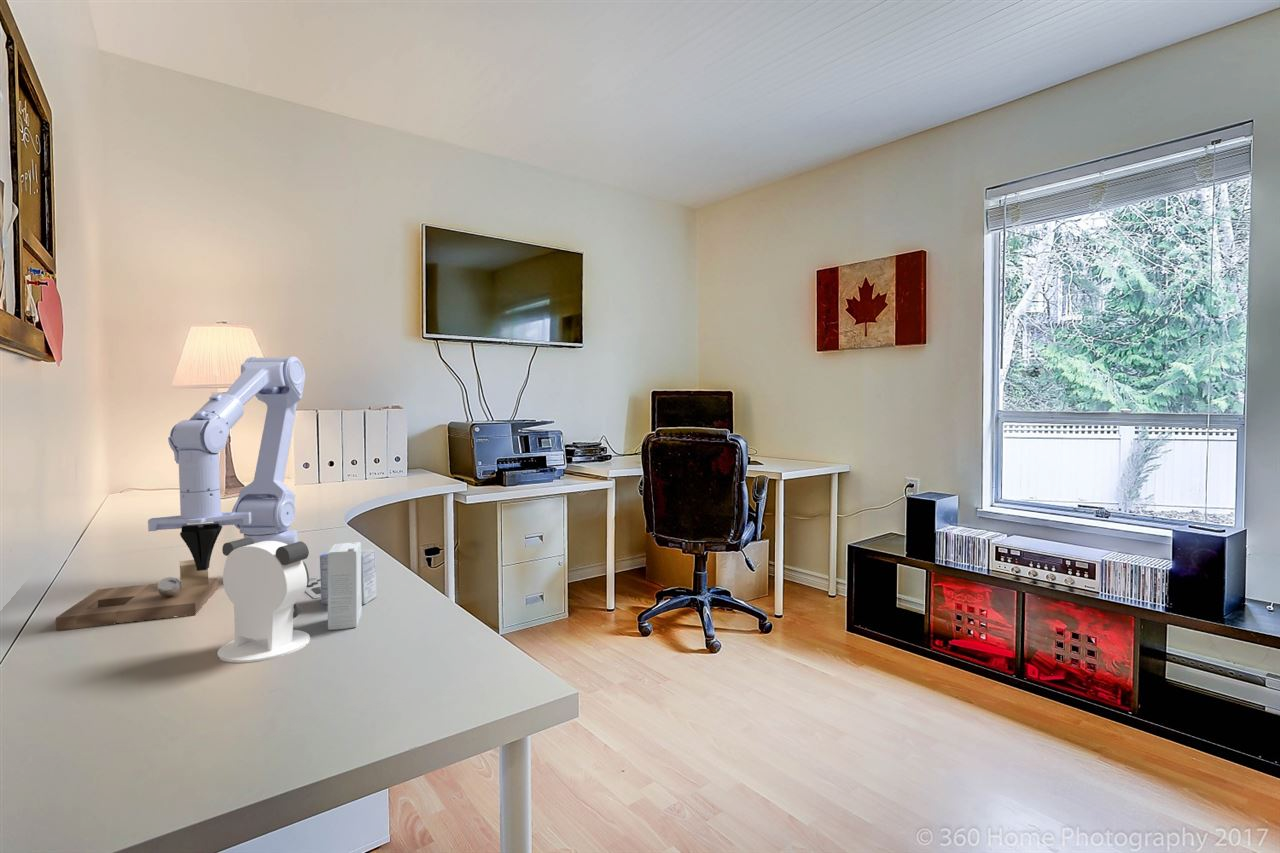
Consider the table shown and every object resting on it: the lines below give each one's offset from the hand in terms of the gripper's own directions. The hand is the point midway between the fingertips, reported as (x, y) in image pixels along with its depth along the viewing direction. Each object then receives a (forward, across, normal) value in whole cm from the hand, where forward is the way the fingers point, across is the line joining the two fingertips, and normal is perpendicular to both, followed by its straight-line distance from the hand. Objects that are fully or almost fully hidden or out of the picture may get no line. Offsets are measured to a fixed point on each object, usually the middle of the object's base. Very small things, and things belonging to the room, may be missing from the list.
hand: (203, 569), depth 111 cm
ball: (+2, -5, 0) cm, 6 cm away
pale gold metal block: (+4, -3, +7) cm, 9 cm away
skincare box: (+6, +23, -20) cm, 31 cm away
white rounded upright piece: (+6, +13, -26) cm, 30 cm away
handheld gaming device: (+7, +19, +4) cm, 21 cm away
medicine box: (+6, +23, -8) cm, 25 cm away
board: (+6, -9, +2) cm, 11 cm away
